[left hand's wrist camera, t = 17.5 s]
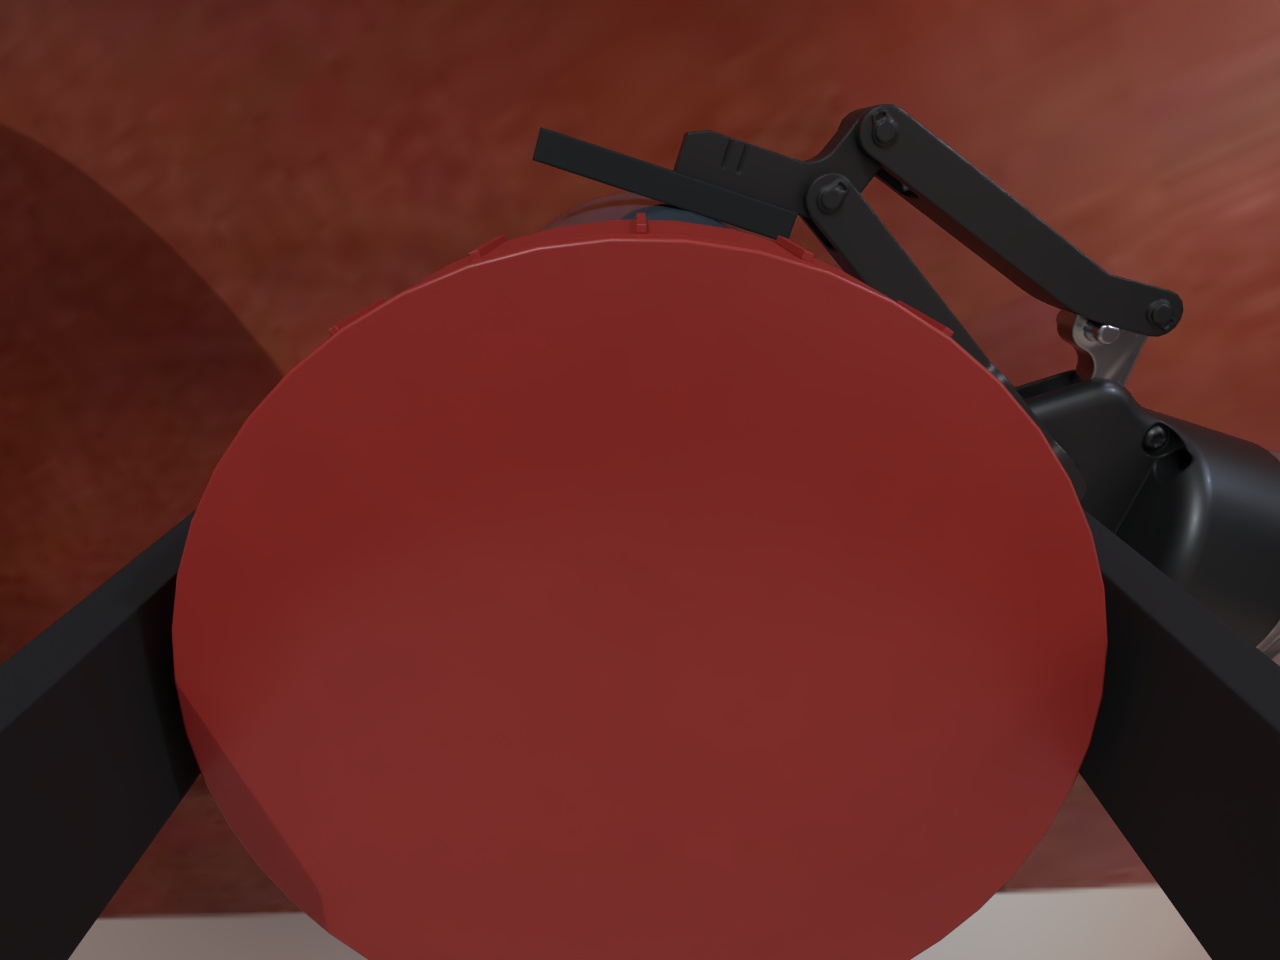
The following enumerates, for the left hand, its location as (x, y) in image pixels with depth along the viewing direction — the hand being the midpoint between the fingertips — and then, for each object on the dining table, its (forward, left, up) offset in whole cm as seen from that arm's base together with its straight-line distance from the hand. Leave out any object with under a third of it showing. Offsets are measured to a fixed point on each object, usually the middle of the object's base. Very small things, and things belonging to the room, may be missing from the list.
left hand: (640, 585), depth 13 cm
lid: (0, 0, +3) cm, 3 cm away
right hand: (-4, +2, -11) cm, 12 cm away
